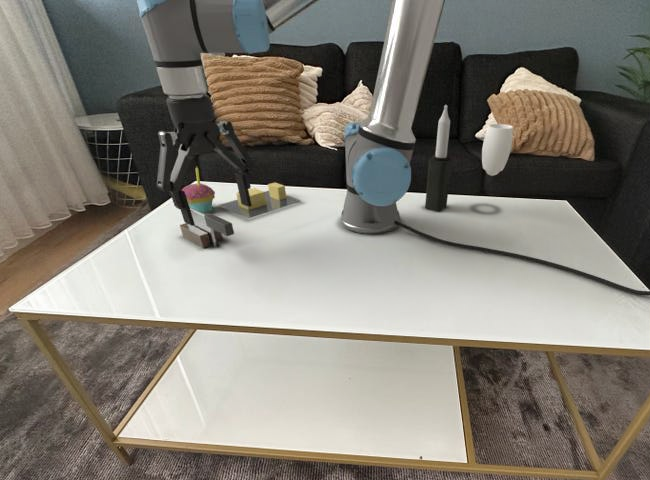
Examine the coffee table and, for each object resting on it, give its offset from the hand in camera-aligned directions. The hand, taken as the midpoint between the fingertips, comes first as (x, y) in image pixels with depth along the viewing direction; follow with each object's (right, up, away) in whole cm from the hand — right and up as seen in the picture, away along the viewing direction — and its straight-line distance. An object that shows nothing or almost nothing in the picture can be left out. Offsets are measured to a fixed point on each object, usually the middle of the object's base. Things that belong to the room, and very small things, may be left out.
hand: (219, 214), depth 86 cm
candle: (+50, +12, +29) cm, 59 cm away
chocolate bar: (-8, -2, +10) cm, 13 cm away
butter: (-2, +12, +26) cm, 29 cm away
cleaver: (-5, -4, +8) cm, 10 cm away
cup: (+64, +12, +29) cm, 71 cm away
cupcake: (-14, +9, +24) cm, 29 cm away
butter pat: (+4, +16, +32) cm, 36 cm away
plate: (0, +13, +28) cm, 31 cm away
